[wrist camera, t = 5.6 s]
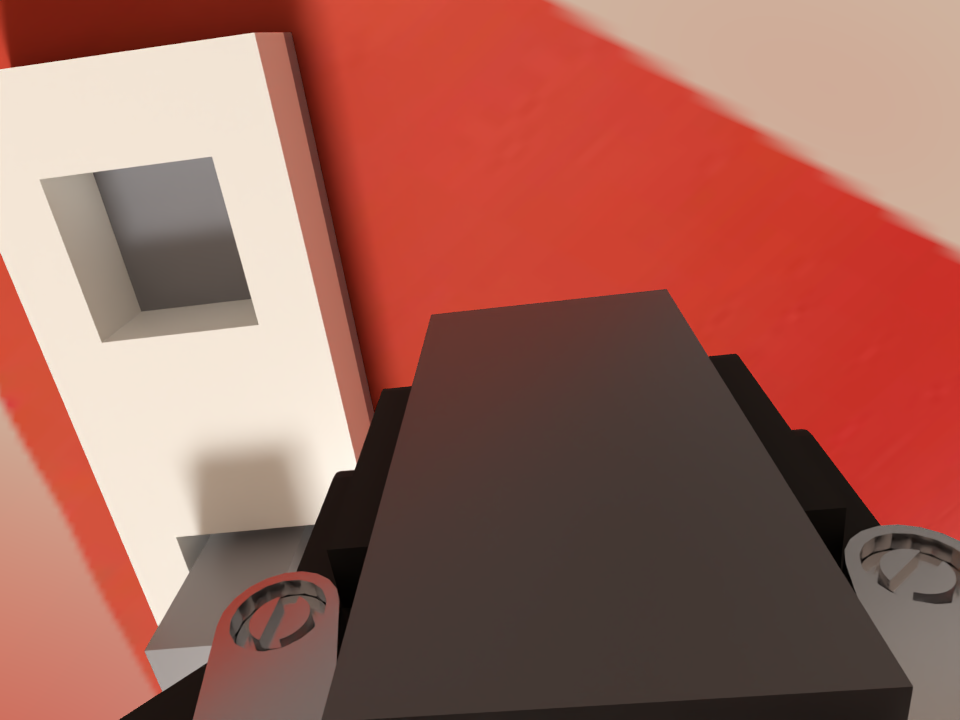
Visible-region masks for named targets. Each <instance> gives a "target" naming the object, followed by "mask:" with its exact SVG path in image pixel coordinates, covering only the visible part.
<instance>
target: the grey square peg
mask: <svg viewBox="0 0 960 720" xmlns="http://www.w3.org/2000/svg"><path fill="white" fill-rule="evenodd" d="M313 528H314V525H304V526H293V527H282V528H271V529H260V530H249V531H238V532H227V533H216V534H211V535H210V537H209V539H208V541H207V542H206V544H205V546H204V548H203V549H202V551H201V553H200V555H199V556H198V558H197V560H196V562H195V563H194V565H193V567H192V569H191V570H190V572H189V574H188V576H187V577H186V579H185V581H184V583H183V584H182V586H181V588H180V590H179V591H178V593H177V595H176V597H175V598H174V600H173V602H172V604H171V605H170V607H169V609H168V611H167V612H166V614H165V616H164V618H163V619H162V621H161V623H160V625H159V626H158V628H157V630H156V632H155V633H154V635H153V637H152V639H151V640H150V642H149V644H148V646H147V647H146V649H145V653H146V655H147V658H148V660H149V662H150V664H151V667H152V669H153V671H154V674H155V676H156V678H157V680H158V683H159V685H160V687H161V689H162V692H163V691H164V690H166V689H167V688H169V687H170V686H172V685H174V684H175V683H177V682H178V681H180V680H181V679H183V678H184V677H186V676H187V675H189V674H191V673H192V672H194V671H195V670H197V669H198V668H200V667H201V666H203V665H204V664H206V663H207V662H208V658H209V654H210V651H211V647H212V643H213V639H214V635H215V631H216V627H217V625H218V622H219V620H220V618H221V616H222V614H223V612H224V610H225V609H226V608H227V607H228V606H229V605H230V603H231V602H232V601H233V600H234V599H235V598H236V597H237V596H239V595H240V594H241V593H243V592H244V591H245V590H246V589H248V588H249V587H251V586H253V585H255V584H257V583H259V582H261V581H263V580H265V579H267V578H270V577H273V576H276V575H280V574H283V573H290V572H296V571H297V569H298V566H299V564H300V561H301V558H302V556H303V553H304V551H305V548H306V546H307V543H308V541H309V538H310V536H311V533H312V530H313Z"/></svg>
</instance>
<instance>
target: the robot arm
mask: <svg viewBox="0 0 960 720" xmlns="http://www.w3.org/2000/svg"><path fill="white" fill-rule="evenodd" d="M709 359H710V360H711V362H712V363H713V365H714V367H715V368H716V370H717V371H718V373H719V375H720V376H721V378H722V380H723V381H724V383H725V384H726V386H727V388H728V389H729V391H730V392H731V394H732V396H733V397H734V399H735V400H736V402H737V404H738V405H739V407H740V408H741V410H742V412H743V413H744V415H745V417H746V418H747V420H748V421H749V423H750V425H751V426H752V428H753V429H754V431H755V433H756V434H757V436H758V437H759V439H760V441H761V442H762V444H763V445H764V447H765V449H766V450H767V452H768V454H769V455H770V457H771V458H772V460H773V462H774V463H775V465H776V466H777V468H778V470H779V471H780V473H781V474H782V476H783V478H784V479H785V481H786V483H787V484H788V486H789V487H790V489H791V491H792V492H793V494H794V495H795V497H796V499H797V500H798V502H799V503H800V505H801V507H802V508H803V510H804V511H805V513H806V515H807V516H808V518H809V520H810V521H811V523H812V524H813V526H814V528H815V529H816V531H817V532H818V534H819V536H820V537H821V539H822V540H823V542H824V544H825V545H826V547H827V549H828V550H829V552H830V553H831V555H832V557H833V558H834V560H835V561H836V563H837V565H838V566H839V568H840V569H841V571H842V573H843V574H844V576H845V577H846V579H847V581H848V582H849V584H850V586H851V587H852V589H853V590H854V592H855V594H856V595H857V597H858V598H859V600H860V602H861V603H862V605H863V606H864V608H865V610H866V611H867V613H868V615H869V616H870V618H871V619H872V621H873V623H874V624H875V626H876V627H877V629H878V631H879V632H880V634H881V635H882V637H883V639H884V640H885V642H886V643H887V645H888V647H889V648H890V650H891V652H892V653H893V655H894V656H895V658H896V660H897V661H898V663H899V664H900V666H901V668H902V669H903V671H904V672H905V674H906V676H907V677H908V679H909V681H910V682H911V684H912V685H913V691H912V697H911V703H910V709H909V715H908V720H960V541H958V540H956V539H954V538H951V537H949V536H947V535H945V534H943V533H939V532H935V531H932V530H928V529H925V528H921V527H914V526H905V525H885V526H881V525H880V524H879V523H878V521H877V520H876V519H875V517H874V516H873V515H872V514H871V512H870V511H869V510H868V508H867V507H866V506H865V504H864V503H863V502H862V500H861V499H860V498H859V496H858V495H857V494H856V492H855V491H854V490H853V488H852V487H851V486H850V484H849V483H848V482H847V480H846V479H845V478H844V476H843V475H842V474H841V473H840V471H839V470H838V469H837V467H836V466H835V465H834V463H833V462H832V461H831V459H830V458H829V457H828V455H827V454H826V453H825V451H824V450H823V449H822V447H821V446H820V445H819V443H818V442H817V441H816V439H815V438H814V437H813V435H812V434H811V433H809V432H808V431H807V430H804V429H799V430H791V429H790V427H789V426H788V425H787V423H786V422H785V420H784V419H783V418H782V416H781V415H780V413H779V412H778V411H777V409H776V408H775V406H774V405H773V404H772V402H771V401H770V399H769V398H768V397H767V395H766V394H765V392H764V391H763V390H762V388H761V387H760V385H759V384H758V383H757V381H756V380H755V378H754V377H753V376H752V374H751V373H750V371H749V370H748V369H747V367H746V366H745V364H744V363H743V362H742V360H741V359H740V357H739V356H738V355H737V354H729V355H719V356H709ZM411 388H412V386H410V387H400V388H390V389H383V391H382V393H381V396H380V399H379V401H378V404H377V407H376V410H375V413H374V416H373V419H372V421H371V424H370V427H369V430H368V433H367V436H366V439H365V441H364V444H363V447H362V450H361V453H360V456H359V459H358V461H357V464H356V467H355V470H347V471H339V472H337V473H336V474H335V476H334V477H333V479H332V482H331V484H330V487H329V490H328V492H327V495H326V497H325V500H324V502H323V505H322V507H321V510H320V513H319V515H318V518H317V520H316V523H315V525H314V528H313V530H312V533H311V536H310V538H309V541H308V543H307V546H306V548H305V551H304V553H303V556H302V558H301V561H300V564H299V566H298V569H297V571H296V572H290V573H283V574H280V575H276V576H273V577H270V578H267V579H265V580H263V581H261V582H259V583H257V584H255V585H253V586H251V587H249V588H248V589H246V590H245V591H244V592H243V593H241V594H240V595H239V596H237V597H236V598H235V599H234V600H233V601H232V602H231V603H230V605H229V606H228V607H227V608H226V609H225V610H224V612H223V614H222V616H221V618H220V620H219V622H218V625H217V627H216V631H215V635H214V639H213V643H212V647H211V651H210V654H209V658H208V662H207V663H206V664H204V665H203V666H201V667H200V668H198V669H197V670H195V671H194V672H192V673H191V674H189V675H187V676H186V677H184V678H183V679H181V680H180V681H178V682H177V683H175V684H174V685H172V686H170V687H169V688H167V689H166V690H164V691H163V692H161V693H160V694H158V695H157V696H155V697H153V698H152V699H150V700H149V701H147V702H146V703H144V704H143V705H141V706H140V707H138V708H137V709H135V710H133V711H132V712H130V713H129V714H128V715H126V716H124V717H123V718H121V719H120V720H321V719H322V715H323V712H324V708H325V704H326V701H327V697H328V693H329V690H330V686H331V682H332V679H333V675H334V671H335V668H336V664H337V660H338V656H339V653H340V649H341V645H342V642H343V638H344V634H345V631H346V627H347V623H348V620H349V616H350V612H351V609H352V605H353V601H354V598H355V594H356V590H357V587H358V583H359V579H360V576H361V572H362V568H363V565H364V561H365V557H366V553H367V550H368V546H369V542H370V539H371V535H372V531H373V528H374V524H375V520H376V517H377V513H378V509H379V506H380V502H381V498H382V495H383V491H384V487H385V484H386V480H387V476H388V473H389V469H390V465H391V461H392V458H393V454H394V450H395V447H396V443H397V439H398V436H399V432H400V428H401V425H402V421H403V417H404V414H405V410H406V406H407V403H408V399H409V395H410V392H411Z"/></svg>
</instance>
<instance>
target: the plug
mask: <svg viewBox="0 0 960 720" xmlns="http://www.w3.org/2000/svg"><path fill="white" fill-rule="evenodd" d="M912 691H913V685H912V684H911V682H910V681H909V679H908V677H907V676H906V674H905V672H904V671H903V669H902V668H901V666H900V664H899V663H898V661H897V660H896V658H895V656H894V655H893V653H892V652H891V650H890V648H889V647H888V645H887V643H886V642H885V640H884V639H883V637H882V635H881V634H880V632H879V631H878V629H877V627H876V626H875V624H874V623H873V621H872V619H871V618H870V616H869V615H868V613H867V611H866V610H865V608H864V606H863V605H862V603H861V602H860V600H859V598H858V597H857V595H856V594H855V592H854V590H853V589H852V587H851V586H850V584H849V582H848V581H847V579H846V577H845V576H844V574H843V573H842V571H841V569H840V568H839V566H838V565H837V563H836V561H835V560H834V558H833V557H832V555H831V553H830V552H829V550H828V549H827V547H826V545H825V544H824V542H823V540H822V539H821V537H820V536H819V534H818V532H817V531H816V529H815V528H814V526H813V524H812V523H811V521H810V520H809V518H808V516H807V515H806V513H805V511H804V510H803V508H802V507H801V505H800V503H799V502H798V500H797V499H796V497H795V495H794V494H793V492H792V491H791V489H790V487H789V486H788V484H787V483H786V481H785V479H784V478H783V476H782V474H781V473H780V471H779V470H778V468H777V466H776V465H775V463H774V462H773V460H772V458H771V457H770V455H769V454H768V452H767V450H766V449H765V447H764V445H763V444H762V442H761V441H760V439H759V437H758V436H757V434H756V433H755V431H754V429H753V428H752V426H751V425H750V423H749V421H748V420H747V418H746V417H745V415H744V413H743V412H742V410H741V408H740V407H739V405H738V404H737V402H736V400H735V399H734V397H733V396H732V394H731V392H730V391H729V389H728V388H727V386H726V384H725V383H724V381H723V380H722V378H721V376H720V375H719V373H718V371H717V370H716V368H715V367H714V365H713V363H712V362H711V360H710V359H709V357H708V355H707V354H706V352H705V351H704V349H703V347H702V346H701V344H700V342H699V341H698V339H697V338H696V336H695V334H694V333H693V331H692V330H691V328H690V326H689V325H688V323H687V322H686V320H685V318H684V317H683V315H682V314H681V312H680V310H679V309H678V307H677V305H676V304H675V302H674V301H673V299H672V297H671V296H670V294H669V293H668V291H667V289H664V290H655V291H646V292H636V293H627V294H618V295H609V296H600V297H590V298H581V299H572V300H563V301H554V302H544V303H535V304H526V305H517V306H508V307H498V308H489V309H480V310H471V311H462V312H453V313H443V314H434V315H431V318H430V322H429V325H428V329H427V333H426V336H425V340H424V344H423V347H422V351H421V355H420V358H419V362H418V366H417V370H416V373H415V377H414V381H413V384H412V388H411V392H410V395H409V399H408V403H407V406H406V410H405V414H404V417H403V421H402V425H401V428H400V432H399V436H398V439H397V443H396V447H395V450H394V454H393V458H392V461H391V465H390V469H389V473H388V476H387V480H386V484H385V487H384V491H383V495H382V498H381V502H380V506H379V509H378V513H377V517H376V520H375V524H374V528H373V531H372V535H371V539H370V542H369V546H368V550H367V553H366V557H365V561H364V565H363V568H362V572H361V576H360V579H359V583H358V587H357V590H356V594H355V598H354V601H353V605H352V609H351V612H350V616H349V620H348V623H347V627H346V631H345V634H344V638H343V642H342V645H341V649H340V653H339V656H338V660H337V664H336V668H335V671H334V675H333V679H332V682H331V686H330V690H329V693H328V697H327V701H326V704H325V708H324V712H323V715H322V719H321V720H908V715H909V709H910V703H911V697H912Z"/></svg>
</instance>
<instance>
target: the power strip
mask: <svg viewBox="0 0 960 720" xmlns="http://www.w3.org/2000/svg"><path fill="white" fill-rule="evenodd" d="M0 253H1V255H2V257H3V260H4V262H5V265H6V267H7V269H8V272H9V274H10V276H11V279H12V281H13V283H14V286H15V288H16V291H17V293H18V295H19V298H20V300H21V302H22V305H23V307H24V310H25V312H26V314H27V317H28V319H29V321H30V324H31V326H32V329H33V331H34V333H35V336H36V338H37V340H38V343H39V345H40V347H41V350H42V352H43V355H44V357H45V359H46V362H47V364H48V366H49V369H50V371H51V374H52V376H53V378H54V381H55V383H56V385H57V388H58V390H59V393H60V395H61V397H62V400H63V402H64V404H65V407H66V409H67V411H68V414H69V416H70V419H71V421H72V423H73V426H74V428H75V430H76V433H77V435H78V438H79V440H80V442H81V445H82V447H83V449H84V452H85V454H86V457H87V459H88V461H89V464H90V466H91V468H92V471H93V473H94V475H95V478H96V480H97V483H98V485H99V487H100V490H101V492H102V494H103V497H104V499H105V502H106V504H107V506H108V509H109V511H110V513H111V516H112V518H113V521H114V523H115V525H116V528H117V530H118V532H119V535H120V537H121V540H122V542H123V544H124V547H125V549H126V551H127V554H128V556H129V558H130V561H131V563H132V566H133V568H134V570H135V573H136V575H137V577H138V580H139V582H140V585H141V587H142V589H143V592H144V594H145V596H146V599H147V601H148V604H149V606H150V608H151V611H152V613H153V615H154V618H155V620H156V622H157V625H158V626H159V625H160V623H161V621H162V619H163V618H164V616H165V614H166V612H167V611H168V609H169V607H170V605H171V604H172V602H173V600H174V598H175V597H176V595H177V593H178V591H179V590H180V588H181V586H182V584H183V583H184V581H185V579H186V577H187V576H188V574H189V572H190V570H191V569H192V567H193V565H194V563H195V562H196V560H197V558H198V556H199V555H200V553H201V551H202V549H203V548H204V546H205V544H206V542H207V541H208V539H209V537H210V535H211V534H216V533H227V532H238V531H249V530H260V529H271V528H282V527H293V526H304V525H315V523H316V520H317V518H318V515H319V513H320V510H321V507H322V505H323V502H324V500H325V497H326V495H327V492H328V490H329V487H330V484H331V482H332V479H333V477H334V476H335V474H336V473H337V472H339V471H347V470H355V467H356V464H357V461H358V459H359V456H360V453H361V450H362V447H363V444H364V441H365V439H366V436H367V433H368V430H369V427H370V424H371V421H372V419H373V416H374V410H373V405H372V401H371V396H370V391H369V387H368V382H367V378H366V373H365V368H364V364H363V359H362V355H361V350H360V345H359V341H358V336H357V332H356V327H355V322H354V318H353V313H352V309H351V304H350V299H349V295H348V290H347V286H346V281H345V276H344V272H343V267H342V263H341V258H340V253H339V249H338V244H337V240H336V235H335V230H334V226H333V221H332V217H331V212H330V207H329V203H328V198H327V194H326V189H325V185H324V180H323V175H322V171H321V166H320V162H319V157H318V152H317V148H316V143H315V139H314V134H313V129H312V125H311V120H310V116H309V111H308V106H307V102H306V97H305V93H304V88H303V83H302V79H301V74H300V70H299V65H298V60H297V56H296V51H295V47H294V42H293V37H292V33H291V32H256V33H248V34H241V35H234V36H227V37H220V38H213V39H206V40H199V41H193V42H186V43H179V44H172V45H165V46H158V47H151V48H144V49H138V50H131V51H124V52H117V53H110V54H103V55H96V56H89V57H83V58H76V59H69V60H62V61H55V62H48V63H41V64H34V65H28V66H21V67H14V68H7V69H0Z"/></svg>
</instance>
